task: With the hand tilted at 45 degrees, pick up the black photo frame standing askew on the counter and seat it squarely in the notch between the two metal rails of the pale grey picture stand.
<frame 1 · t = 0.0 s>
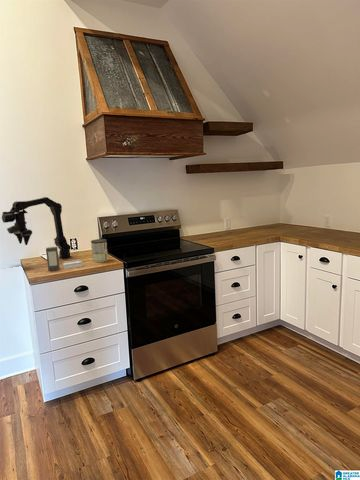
hand: (23, 244, 232), 15 cm above the counter, tool pointing down, fingers open, 9 cm apart
photo frame: (54, 269, 222), on the counter
picture stand: (73, 266, 228), on the counter
coffee can: (100, 260, 240), on the counter
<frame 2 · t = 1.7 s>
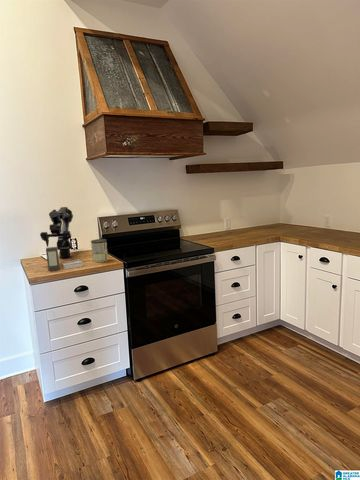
hand: (54, 246, 227), 13 cm above the counter, tool tilted 45°, fingers open, 9 cm apart
nothing on the counter moved.
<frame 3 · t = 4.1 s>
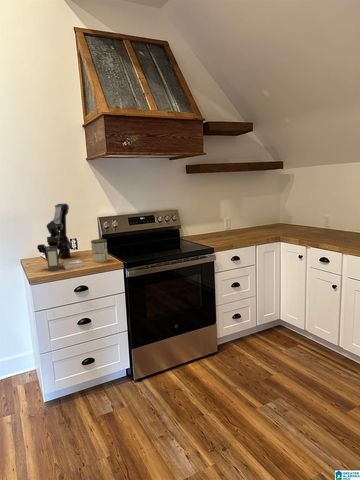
hand: (52, 259, 220), 7 cm above the counter, tool tilted 45°, fingers closed on photo frame, 7 cm apart
photo frame: (54, 269, 222), on the counter, touching gripper
everything else where it was.
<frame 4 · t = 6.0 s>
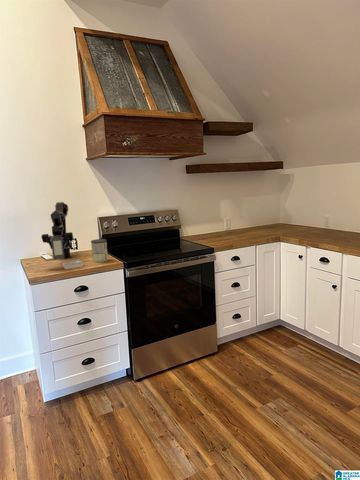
hand: (57, 248, 220), 13 cm above the counter, tool tilted 45°, fingers closed on photo frame, 7 cm apart
photo frame: (58, 258, 223), point 6 cm above the counter, touching gripper
everything else where it was.
when the fingers open (10 cm above the counter, at t = 7.8 s): photo frame drops 1 cm, resting on picture stand.
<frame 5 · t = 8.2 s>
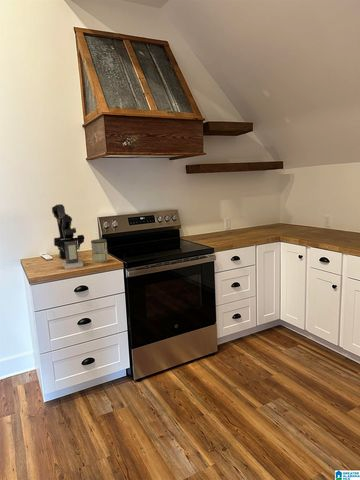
hand: (71, 250, 225), 10 cm above the counter, tool tilted 45°, fingers open, 9 cm apart
photo frame: (72, 263, 228), point 2 cm above the counter, touching picture stand
everything else where it was.
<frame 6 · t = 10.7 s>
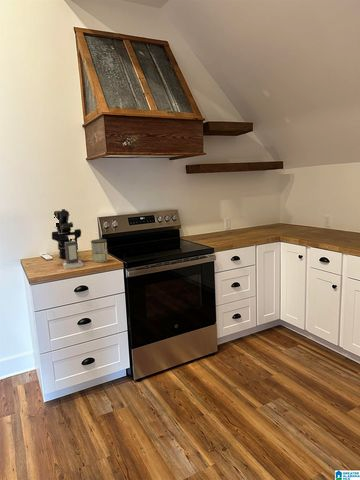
hand: (68, 244, 232), 13 cm above the counter, tool tilted 45°, fingers open, 9 cm apart
nothing on the counter moved.
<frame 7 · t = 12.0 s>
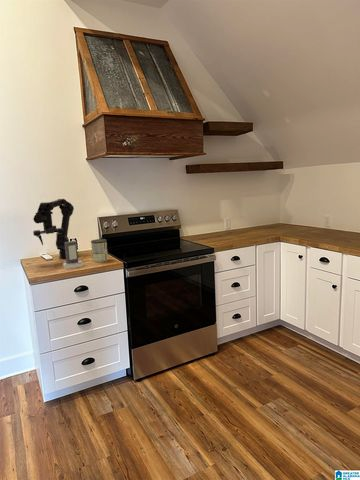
hand: (50, 244, 237), 13 cm above the counter, tool pointing down, fingers open, 9 cm apart
nothing on the counter moved.
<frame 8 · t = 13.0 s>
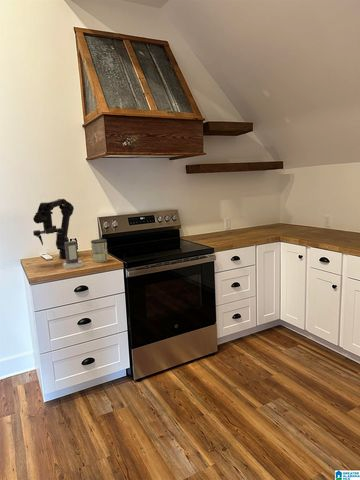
hand: (50, 244, 237), 13 cm above the counter, tool pointing down, fingers open, 9 cm apart
nothing on the counter moved.
at the end: photo frame 0.1 cm off-centre on the picture stand, point 2.0 cm above the picture stand's base; photo frame tilted 0°; the gripper is holding nothing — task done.
